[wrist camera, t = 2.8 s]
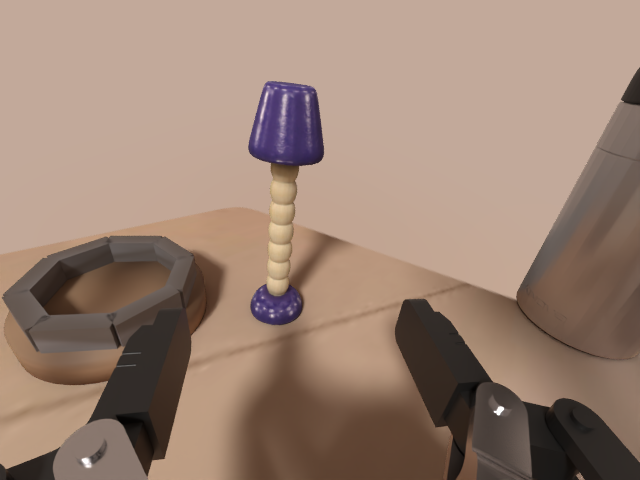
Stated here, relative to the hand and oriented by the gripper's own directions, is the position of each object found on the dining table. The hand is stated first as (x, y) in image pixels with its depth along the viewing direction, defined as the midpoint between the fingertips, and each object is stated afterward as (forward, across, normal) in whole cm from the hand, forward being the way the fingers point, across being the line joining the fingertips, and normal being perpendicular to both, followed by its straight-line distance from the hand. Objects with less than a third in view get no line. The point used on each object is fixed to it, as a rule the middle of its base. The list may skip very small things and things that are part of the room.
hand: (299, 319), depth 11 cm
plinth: (+11, +12, +10) cm, 19 cm away
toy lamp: (+11, 0, +10) cm, 15 cm away
